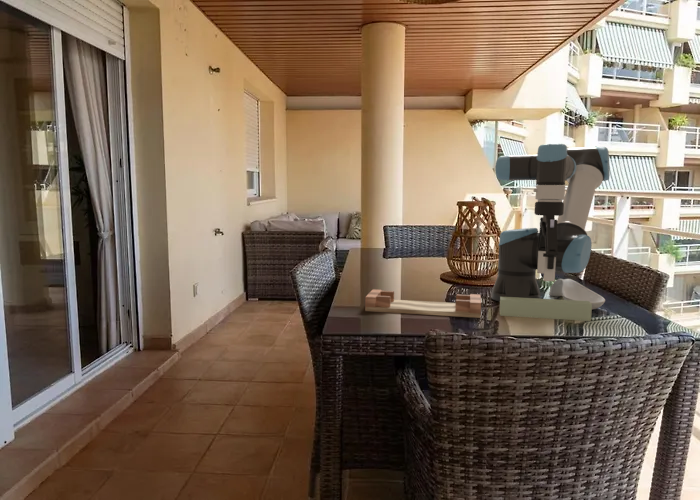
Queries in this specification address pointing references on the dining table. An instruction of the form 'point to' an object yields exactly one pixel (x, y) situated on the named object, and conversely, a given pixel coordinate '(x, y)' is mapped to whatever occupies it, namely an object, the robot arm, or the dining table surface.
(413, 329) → the dining table surface
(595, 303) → the spoon rest
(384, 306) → the slat cradle
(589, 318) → the slat
